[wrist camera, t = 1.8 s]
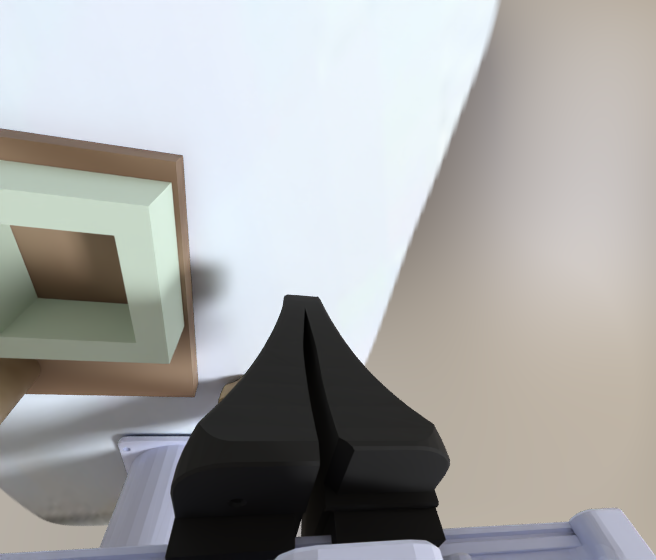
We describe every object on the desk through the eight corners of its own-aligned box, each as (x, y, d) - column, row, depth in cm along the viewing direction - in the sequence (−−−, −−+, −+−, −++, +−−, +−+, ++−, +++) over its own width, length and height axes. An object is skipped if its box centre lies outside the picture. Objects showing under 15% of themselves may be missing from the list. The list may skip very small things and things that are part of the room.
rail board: (198, 383, 20) (175, 464, 16) (-46, 377, 18) (-145, 470, 14) (182, 155, 13) (133, 198, 9) (-238, 93, 11) (-576, 112, 6)
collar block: (184, 326, 16) (169, 363, 14) (16, 316, 15) (-27, 356, 13) (171, 182, 12) (148, 206, 10) (-58, 152, 11) (-137, 172, 9)
